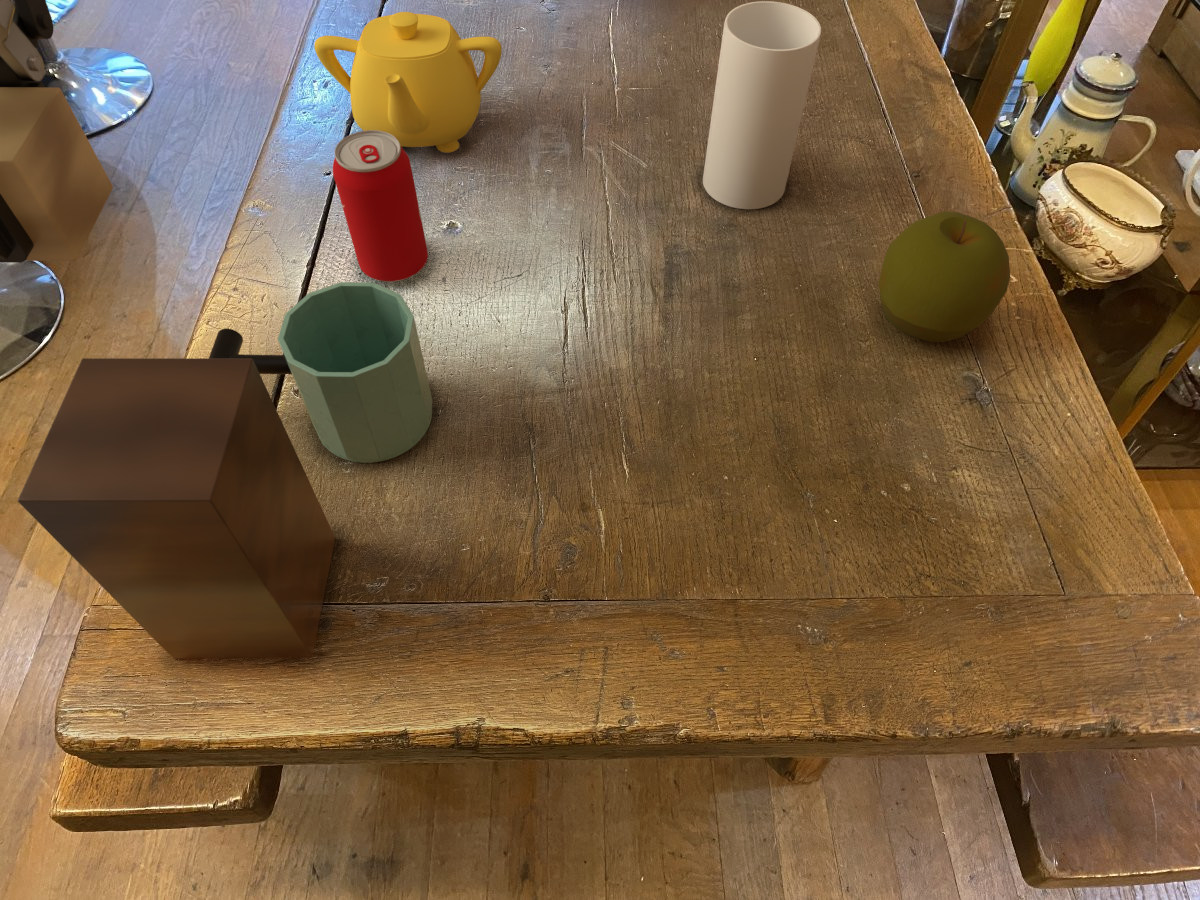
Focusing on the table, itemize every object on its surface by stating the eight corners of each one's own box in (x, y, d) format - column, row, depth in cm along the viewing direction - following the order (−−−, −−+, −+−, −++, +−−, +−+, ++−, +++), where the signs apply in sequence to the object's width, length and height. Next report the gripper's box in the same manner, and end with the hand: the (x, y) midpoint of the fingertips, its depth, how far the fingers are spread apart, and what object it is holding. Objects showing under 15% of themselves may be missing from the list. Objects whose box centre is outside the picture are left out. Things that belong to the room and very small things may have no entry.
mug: (220, 461, 65) (169, 374, 56) (249, 371, 70) (206, 279, 62) (424, 463, 65) (402, 377, 57) (438, 373, 70) (419, 283, 62)
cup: (687, 171, 86) (706, 13, 74) (755, 150, 89) (785, -7, 76) (731, 218, 82) (759, 59, 69) (801, 195, 85) (841, 37, 72)
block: (77, 261, 33) (13, 161, 29) (-43, 261, 33) (-122, 160, 29) (114, 187, 35) (60, 86, 32) (4, 186, 35) (-63, 85, 32)
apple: (876, 362, 72) (918, 262, 63) (854, 282, 77) (889, 180, 68) (994, 362, 72) (1053, 262, 63) (963, 282, 78) (1012, 180, 69)
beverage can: (419, 235, 80) (397, 119, 70) (436, 278, 77) (415, 163, 67) (353, 250, 79) (321, 134, 69) (367, 294, 75) (336, 180, 66)
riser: (312, 658, 56) (210, 500, 40) (172, 659, 55) (16, 501, 40) (335, 537, 61) (253, 357, 46) (208, 538, 61) (81, 357, 45)
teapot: (322, 135, 89) (291, 22, 80) (426, 79, 96) (408, -32, 86) (411, 192, 84) (389, 78, 74) (514, 129, 90) (506, 17, 81)
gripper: (-325, -453, 24) (9, 105, 38) (-823, -296, 15) (-159, 346, 29) (-53, -447, 24) (180, 108, 38) (-403, -287, 16) (61, 348, 29)
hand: (30, 210), depth 34 cm, fingers closed on block, 4 cm apart
